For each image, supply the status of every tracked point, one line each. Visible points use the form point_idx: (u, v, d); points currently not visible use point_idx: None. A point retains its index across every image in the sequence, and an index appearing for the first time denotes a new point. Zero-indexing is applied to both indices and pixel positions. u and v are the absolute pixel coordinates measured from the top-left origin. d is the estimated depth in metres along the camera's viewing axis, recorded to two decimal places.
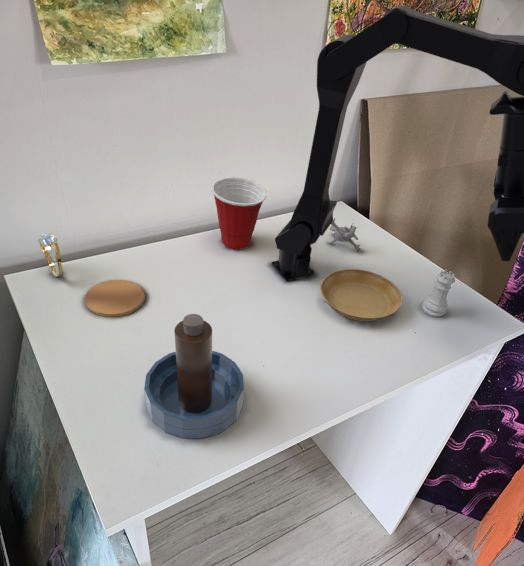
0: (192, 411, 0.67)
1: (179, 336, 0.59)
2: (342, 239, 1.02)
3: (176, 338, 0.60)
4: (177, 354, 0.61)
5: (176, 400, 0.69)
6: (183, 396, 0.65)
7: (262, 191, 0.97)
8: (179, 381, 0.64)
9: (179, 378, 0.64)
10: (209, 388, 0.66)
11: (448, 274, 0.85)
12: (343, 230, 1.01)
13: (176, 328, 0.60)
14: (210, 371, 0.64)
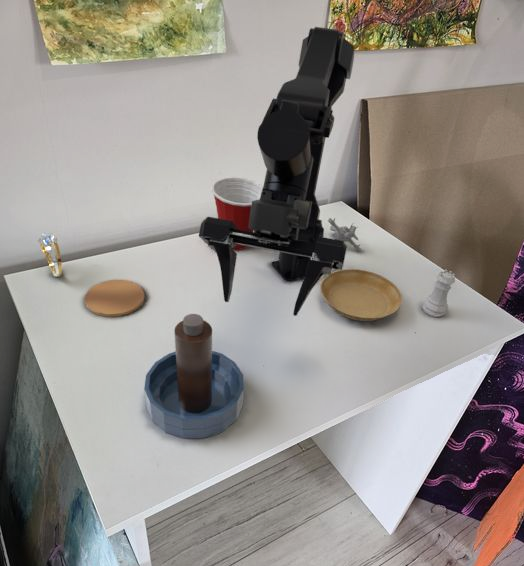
0: (192, 411, 0.67)
1: (179, 336, 0.59)
2: (342, 239, 1.02)
3: (176, 338, 0.60)
4: (177, 354, 0.61)
5: (176, 400, 0.69)
6: (183, 396, 0.65)
7: None
8: (179, 381, 0.64)
9: (179, 378, 0.64)
10: (209, 388, 0.66)
11: (448, 274, 0.85)
12: (343, 230, 1.01)
13: (176, 328, 0.60)
14: (210, 371, 0.64)
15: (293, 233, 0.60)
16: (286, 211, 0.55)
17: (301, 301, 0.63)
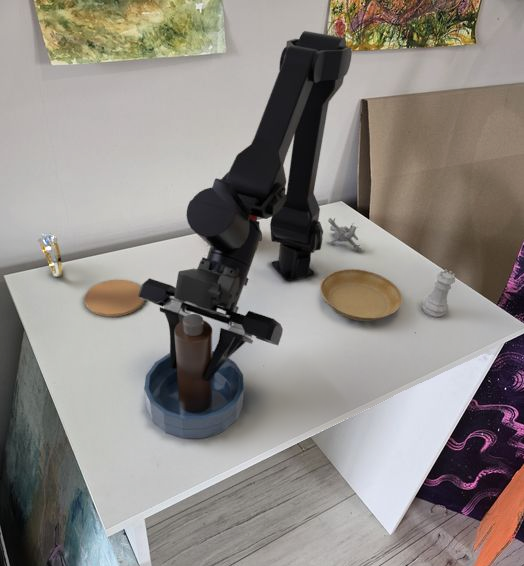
0: (192, 411, 0.67)
1: (179, 336, 0.59)
2: (342, 239, 1.02)
3: (176, 338, 0.59)
4: (177, 354, 0.61)
5: (176, 400, 0.69)
6: (183, 396, 0.65)
7: None
8: (179, 381, 0.64)
9: (179, 378, 0.64)
10: (209, 388, 0.66)
11: (448, 274, 0.85)
12: (343, 230, 1.01)
13: (176, 328, 0.60)
14: None
15: (224, 305, 0.60)
16: (208, 285, 0.55)
17: (212, 367, 0.62)
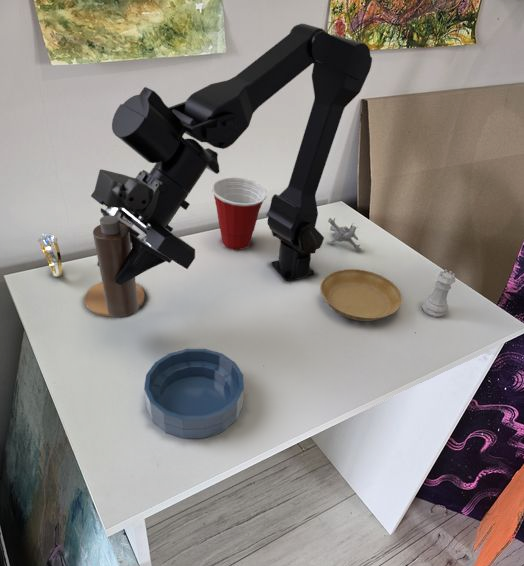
0: (112, 314, 0.72)
1: (95, 231, 0.64)
2: (342, 239, 1.02)
3: None
4: None
5: (176, 400, 0.69)
6: (105, 296, 0.71)
7: (262, 191, 0.97)
8: None
9: None
10: (127, 296, 0.70)
11: (448, 274, 0.85)
12: (343, 230, 1.01)
13: (98, 226, 0.65)
14: None
15: (140, 214, 0.63)
16: (113, 184, 0.59)
17: (122, 271, 0.66)
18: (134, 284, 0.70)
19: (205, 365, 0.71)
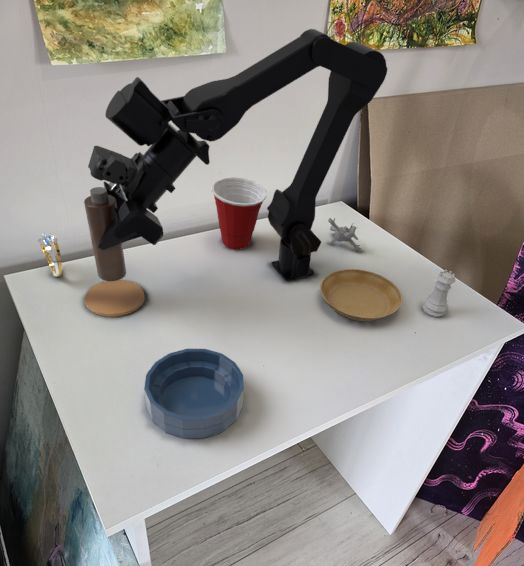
0: (99, 276, 0.81)
1: (86, 199, 0.73)
2: (342, 239, 1.02)
3: None
4: None
5: (176, 400, 0.69)
6: None
7: (262, 191, 0.97)
8: None
9: None
10: (110, 261, 0.78)
11: (448, 274, 0.85)
12: (343, 230, 1.01)
13: None
14: None
15: (123, 189, 0.71)
16: (97, 158, 0.68)
17: (103, 238, 0.74)
18: (119, 252, 0.78)
19: (205, 365, 0.71)
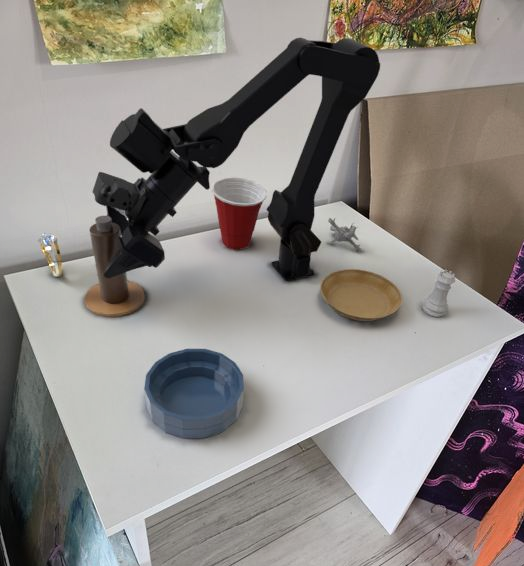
0: (103, 299, 0.84)
1: (91, 227, 0.76)
2: (342, 239, 1.02)
3: None
4: None
5: (176, 400, 0.69)
6: None
7: (262, 191, 0.97)
8: None
9: None
10: (114, 285, 0.81)
11: (448, 274, 0.85)
12: (343, 230, 1.01)
13: None
14: None
15: (126, 214, 0.74)
16: (102, 185, 0.70)
17: (108, 267, 0.75)
18: (122, 277, 0.81)
19: (205, 365, 0.71)
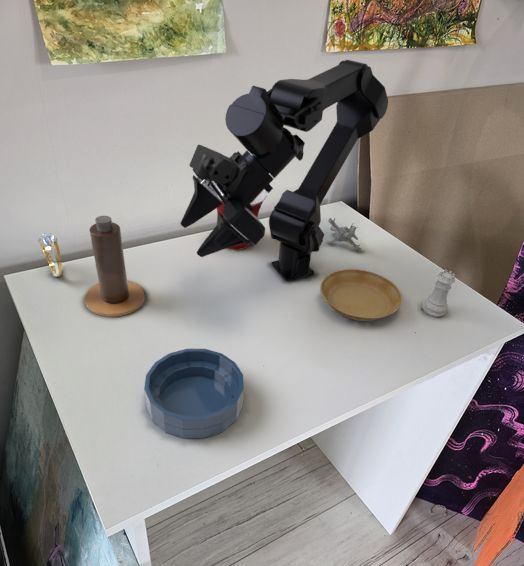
0: (103, 299, 0.84)
1: (91, 227, 0.76)
2: (342, 239, 1.02)
3: None
4: None
5: (176, 400, 0.69)
6: None
7: (262, 191, 0.97)
8: None
9: None
10: (114, 285, 0.81)
11: (448, 274, 0.85)
12: (343, 230, 1.01)
13: None
14: (113, 270, 0.79)
15: (224, 188, 0.70)
16: (204, 157, 0.67)
17: (204, 244, 0.72)
18: (122, 277, 0.81)
19: (205, 365, 0.71)
